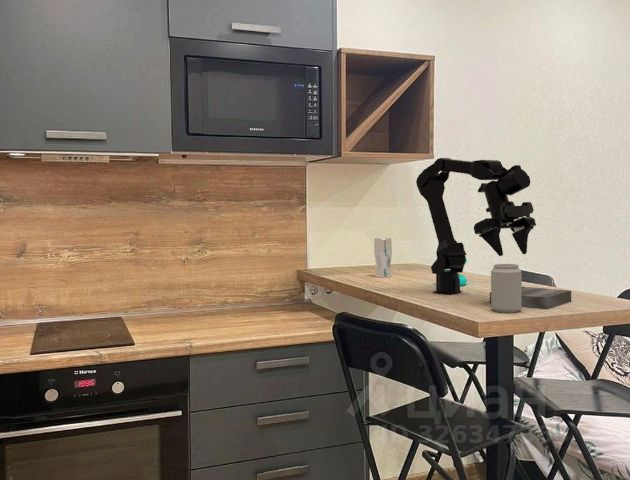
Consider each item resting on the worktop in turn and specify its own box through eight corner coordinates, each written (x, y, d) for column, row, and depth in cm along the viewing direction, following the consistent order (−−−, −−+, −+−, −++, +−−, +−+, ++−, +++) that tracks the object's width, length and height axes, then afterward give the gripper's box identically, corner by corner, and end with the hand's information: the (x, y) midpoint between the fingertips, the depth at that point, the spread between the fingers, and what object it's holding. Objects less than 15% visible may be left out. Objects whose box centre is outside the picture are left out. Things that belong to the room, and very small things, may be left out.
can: (517, 308, 156) (517, 262, 156) (524, 313, 149) (524, 265, 148) (488, 308, 157) (488, 263, 156) (494, 313, 150) (494, 265, 149)
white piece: (396, 276, 231) (395, 238, 230) (382, 278, 227) (381, 239, 226) (384, 275, 237) (383, 237, 236) (370, 276, 233) (370, 238, 232)
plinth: (489, 303, 165) (489, 292, 165) (516, 296, 176) (516, 286, 176) (546, 309, 154) (546, 297, 154) (571, 301, 165) (571, 290, 165)
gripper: (494, 190, 155) (511, 247, 151) (542, 190, 165) (559, 244, 161) (466, 206, 165) (480, 260, 161) (513, 205, 174) (528, 256, 170)
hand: (513, 254), depth 163 cm, fingers open, 9 cm apart
